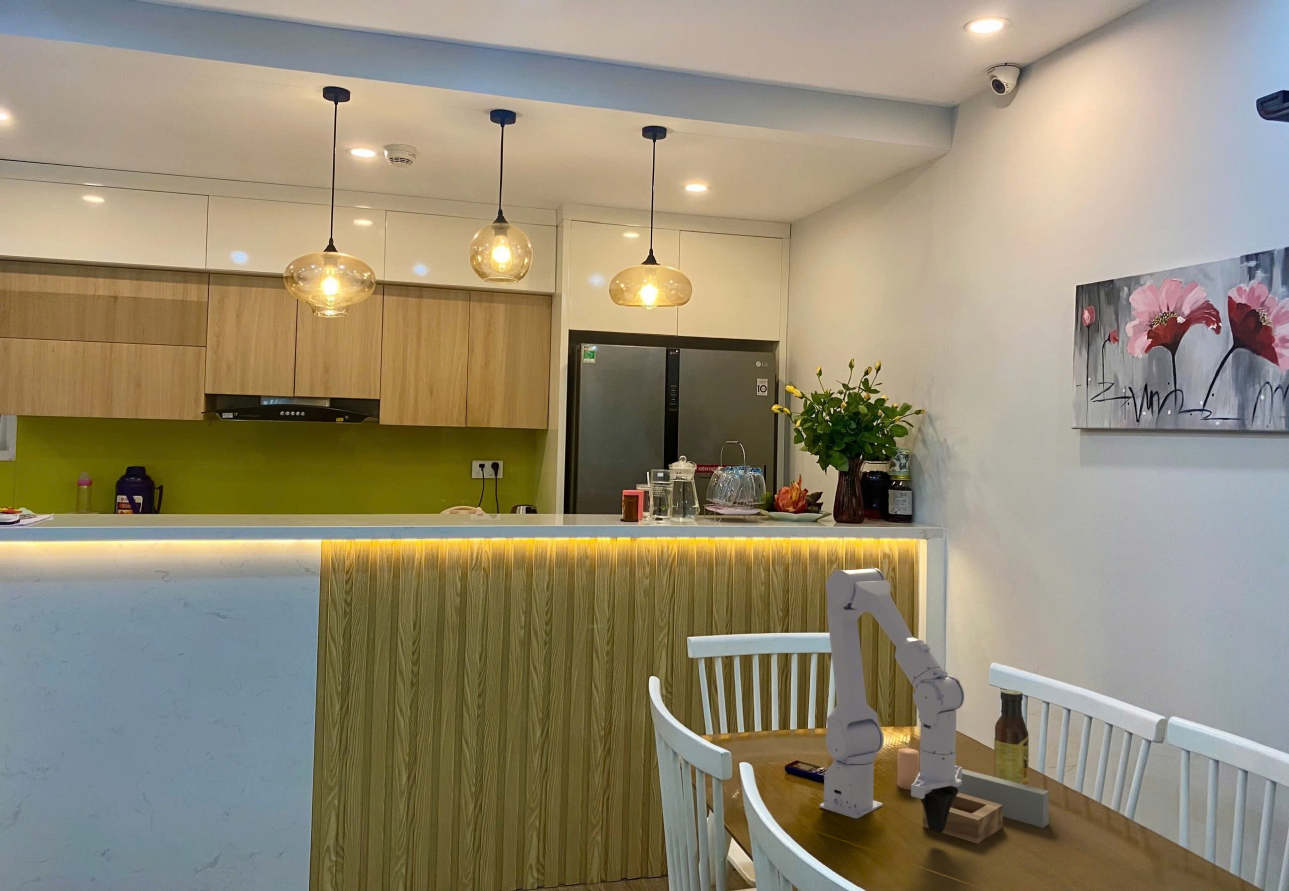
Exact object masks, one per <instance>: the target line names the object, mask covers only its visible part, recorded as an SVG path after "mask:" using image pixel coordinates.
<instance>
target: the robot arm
mask: <svg viewBox="0 0 1289 891" xmlns="http://www.w3.org/2000/svg"><path fill="white" fill-rule="evenodd" d="M891 586H892V585H891V583H890V582H889V581H888V580H887V579H886V576H885V575H884V573H883V572H882V570H880V569H878V568H877V567H869V568H864V569H863V568H862V569H851V570H849V569H847V570H846V569H845V570H844V569H838V570H835V571H834V572H832V574H831V575H830V576H829V578H828V579H827V580H826V582H825V590H826V599H827V600H826V601H827V609H826V610H827V611H826V613H827V621H828V622H827V623H828V630H829V641H830V648H831V649H830V651H831V661H832V668H833V669H832V670H833V680H834V687H835V690H834V691H835V697H836V706H835V708H834V709H833V710H832V711H831V712H830V713H829V715H828V716H827V718H826V724H827V726H826V727H827V728H826V732H825V744H826V748H827V751H828V753H829V754H830V755H831V757H830V758H832V759H833V762H832V764H831V765H830V766H828V767H827V769H826V770H825V771H824V776H823V780H824V782H823V802H822V803H820V804H819V808H821V809H823V810H824V809H825V810H827V811H831V812H834V813H837V814H840V815H843V816H847V817H850V818H852V819H859V818H861V817H863V816H865V815H867V814H869V813H871V812H873V811H875V810H877V809H879V808H881V807H883V803H882V802H879V801H878V800H874V779H875V776H874V775H875V773H874V772H875V771H874V770H875V759H877V758H878V753H879V752H880V751H881V750H882V749H883V746H884V739H885V737H884V732H883V730H882V727H881V725H880V723H879V718H878V713H877V712H876V711H875V710H874V709H873V708H871V706H869V705H868V703H867V696H866V685H865V678H864V669H863V662H862V661H863V658H862V652H861V651H862V650H861V641H860V632H859V622H858V619H859V618H860V617H861V615H863V613H864V612H865V613H869V614H871V615H872V616H873V617H874V619H875V620H876V622H877V623H878V624H879V626H880V627H881V629H882V630H883V631H884V633H885V634H886V636H888V638H889V640H890V641H891V642H892V644H893V645H894V646H895V647H896V648H895V653H894V658H895V659H896V661H897V663H898V665H899V666H900V667H901V669H902V671H903V672H904V674H905V676H906V677H907V679H908V681H909V682H910V684H911V686H912V687H913V689H914V690H915V692H913V693H912V697H913V701H914V704H915V706H916V708H917V709H916V710H917V712H918V719H919V723H920V745H919V747H920V748H919V751H920V752H919V774H918V776H917V778H916V780H915V782H914V783H913V784H911V790H910V796H911V797H913V798H916V799H919V800H920V802H921V804H922V807H924V810H925V813H926V818H927V822H928V826H929V830H930V831H932V832H934V833H935V832H936V833H939V834H942V833H941V832H943V831H944V829H945V825H946V821H947V817H948V814H949V810H950V807H951V805H952V803H953V801H954V799H955V797H956V795H957V794H958V788H956V787H953V786H960V785H961V784H962V780H960V779H961V778H962V769H963V766H959V765H956V757H957V756H956V748H957V744H956V743H957V710H959V709H961V707H962V706H963V704H964V701H965V692H964V688H963V686H962V685H961V682H960V680H959V679H958V678H957V677H955V676H954V675H951V674H949V673H948V672H947V671H945V670H943V668H942V666H940V664H939V662H938V661H937V659H936V658H935V657H934V655H933V653H932V652H931V650H930V649H931V647H930V646H929V645H928V643H925V641H924V640H923V639H920V638H915V637H913V635H912V633H911V631H910V629H909V626H908V625H907V623H906V622H905V620H904V618H903V616H902V614H901V613H900V611H899V609H898V607H897V606H896V604H895V602H894V600H893V598H892V596H891V590H892V589H891Z"/></svg>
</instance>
